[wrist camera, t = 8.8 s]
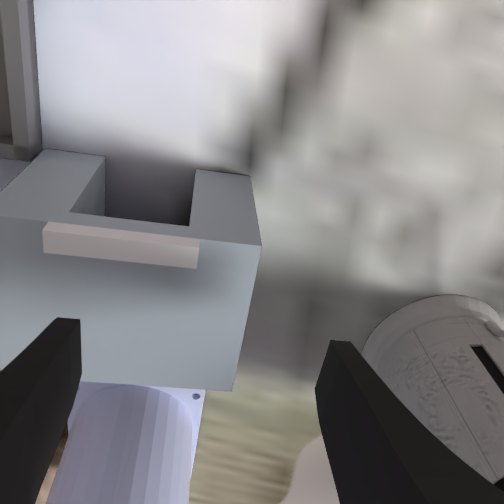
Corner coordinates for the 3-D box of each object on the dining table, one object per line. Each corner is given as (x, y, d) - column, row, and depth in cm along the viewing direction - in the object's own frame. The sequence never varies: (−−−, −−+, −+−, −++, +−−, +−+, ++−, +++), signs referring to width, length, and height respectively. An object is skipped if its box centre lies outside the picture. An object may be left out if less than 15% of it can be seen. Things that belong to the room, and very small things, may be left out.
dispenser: (228, 298, 24) (232, 403, 18) (53, 281, 23) (-6, 387, 17) (250, 176, 21) (263, 255, 15) (45, 148, 20) (-32, 222, 14)
